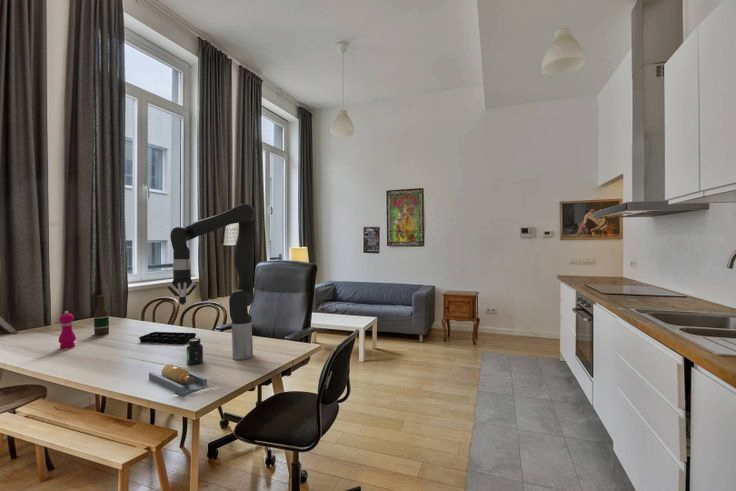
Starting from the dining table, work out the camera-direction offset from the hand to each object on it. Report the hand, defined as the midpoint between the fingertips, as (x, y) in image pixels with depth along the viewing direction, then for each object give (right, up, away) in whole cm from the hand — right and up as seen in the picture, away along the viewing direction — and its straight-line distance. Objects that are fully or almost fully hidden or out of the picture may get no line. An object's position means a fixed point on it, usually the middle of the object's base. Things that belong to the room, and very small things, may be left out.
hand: (182, 304), depth 171 cm
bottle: (+7, -24, -24) cm, 34 cm away
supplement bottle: (+9, -27, -6) cm, 29 cm away
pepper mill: (-75, -28, +23) cm, 83 cm away
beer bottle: (-76, -27, +50) cm, 95 cm away
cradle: (+12, -28, -28) cm, 41 cm away
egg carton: (-26, -27, +34) cm, 51 cm away
